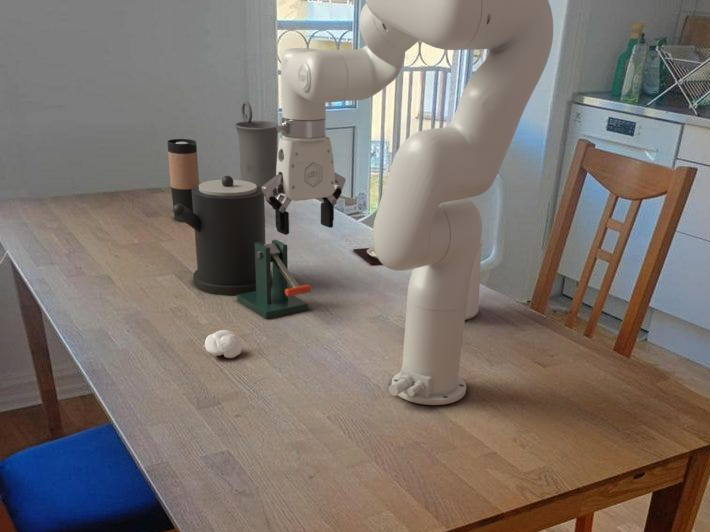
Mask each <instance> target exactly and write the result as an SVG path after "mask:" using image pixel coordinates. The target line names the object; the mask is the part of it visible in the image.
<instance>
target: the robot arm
mask: <svg viewBox="0 0 710 532" xmlns="http://www.w3.org/2000/svg"><path fill="white" fill-rule="evenodd" d="M358 21H359V22H358V25H359V32H360V34H361V37H362V40H363V41H364V44H365V45H364V46H363V47H361V48H358V49H357V48H356V49H354V48H352V49H351V48H349V49H347V48H345V49H316V48H308V47H307V48H306V47H292V48H291V47H290V48H287V49H285V50H283V52H282V53H281V56H280V79H281V80H280V87H281V122H280V123H277V131H278V133H281V136H282V137H280V138H279V142H278V145H277V166H276V176H275V177H274V178H272V179H271V180H270V181H268V182H267V183H266V184H264V185H263V186H262V188H261V189H262V192H263V194H264V198H265V200H266V202H267V203H268V205H270V206H271V207H272V209H273V210H274V211H275V213H274V215H275V228H276V231H277V232H278V233H280V234H282V235H285V236H286V235H287V236H288V235H289V234H290V213H289V212H288V211H287V209H288V207H289V205H290V204H291V202H292V201H294V202H295V201H296V202H300V201H301V202H302V201H307V200H308V201H309V200H315V199H321V200H322V201H323V202H321V203H320V225H322V226H324V227H326V228H330V229H331V228H333V227H334V220H335V206H336V205H337V203H338V199H339V198H340V197H341V195H342V193H343V189H344V186H345V184H346V178H345V177H344V176H342V175H341V174H339V173H337V172H336V171H335V162H334V161H335V160H334V154H333V153H334V152H333V147H332V141H331V138H330V137H329V136H327V135H326V134H327V127H326V126H327V120H326V119H327V118H326V117H327V114H326V111H327V109H326V107H327V105H326V104H327V103H336V102H350V101H363V100H367V99H369V98H372V97H373V96H375V95H377V94H378V93H380V92H381V91H383V89H385V88H386V87H387V86H389V85H390V84H391V83H393V82H394V81H395V80H396V79H397V78H398V76H399V75H400V73H401V71H402V68H403V65H404V62H405V58H406V52H407V51H408V50H410V49H411V48H412V47H414V45H416V44H417V43H418V42H421V43H423V44H425V45H428V46H430V47H433V48H435V49H439V50H445V51H463V50H464V51H466V50H467V51H468V50H469V51H470V50H472V51H473V50H474V51H475V50H479V51H480V50H488V54H487V56H486V57H485V59H484V61H483V62H482V63H481V64H480V65H479V67H477V69H476V70H475V71H474V73H473V74H472V75H471V77H470V78H469V80H467V83H466V85H465V87H464V88H463V91H462V93H461V97H460V99H459V102H458V105H457V108H456V110H455V112H454V115H453V117H452V118H451V120H450V122H449V123H448V124H447V125H445V126H444V127H437V128H428V129H422V130H419V131H417V132H414V133H413V134H411V135H410V136H408V137H407V138H406V139H405V140H404V141H403V142H402V143H401V145H400V146H399V147H398V149H397V151H396V153H395V155H394V157H393V160H392V163H391V165H390V168H389V171H388V175H387V178H386V182H385V185H384V188H383V191H382V194H381V197H380V201H379V204H378V207H377V210H376V214H375V217H374V222H373V226H372V246H373V247H374V250H375V253H376V256H377V257H378V259H379V261H380V262H381V263H382V264H381V265H383V266H384V267H386V268H387V269H390V270H393V271H409V270H412V272H411V274H410V277H409V281H408V285H407V294H406V306H405V307H406V308H405V322H404V323H405V324H404V335H403V347H402V349H403V350H402V362H401V363H402V364H401V369H400V371H399V372H398V373H396V374H394V376H392V378H391V384H390V385H389V386H388V393H389V394H390V396H393V397H397V396H398V397H399V398H401V399H403V400H405V401H408V402H411V403H414V404H417V405H424V406H425V405H426V406H443V405H449V404H453V403H455V402H458V401H460V400H461V399H463V398H464V396H465V395H466V392H467V384H466V381H464V379H463V378H462V377H460V375H459V374H460V373H459V372H460V365H461V364H460V363H461V356H462V355H461V354H462V348H463V338H464V330H465V322H466V320H465V314H466V305H467V298H468V290H469V283H470V277H471V272H472V267H473V264H474V260H475V257H476V254H477V251H478V247H479V244H480V240H481V239H482V234H483V220H482V215H481V213H480V210H479V209H478V207H477V206H476V204H475V203H474V202H473V201H472V200H471V199H469V198H474V197H478V196H480V195H483V194H484V193H486V192H487V191H488V190H489V189H490V188H491V187H492V185H493V184H494V182H495V180H496V179H497V176H498V174H499V172H500V169H501V167H502V164H503V162H504V160H505V158H506V155H507V153H508V150H509V148H510V145H511V143H512V141H513V139H514V137H515V134H516V131H517V129H518V126H519V124H520V121H521V118H522V117H523V114H524V111H525V109H526V107H527V105H528V103H529V101H530V99H531V97H532V95H533V93H534V91H535V89H536V87H537V85H538V84H539V81H540V80H541V77H542V75H543V73H544V71H545V69H546V67H547V63H548V61H549V58H550V55H551V51H552V46H553V39H554V17H553V11H552V8H551V5H550V0H365V4H364V5H363V6H362V7H361V10H360V14H359V20H358ZM275 189H276V193H277V196H276V197H275V195H274V190H275Z"/></svg>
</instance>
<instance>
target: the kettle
mask: <svg viewBox="0 0 710 532" xmlns="http://www.w3.org/2000/svg"><path fill="white" fill-rule="evenodd" d="M192 202H193V212H192V211H191V210H189V209H188V208H187V207H185V206H184V205H182V204H176V205H175V206H174V207H173V206H172V212H173V215H174V214H175V215H176V216H177V217H179V218H180V219H181V220H183V221H184V222H183V223H185V224H186V225H188V226H189V227H191V228H192V229H193V230H194V241H195V242H194V243H195V253H196V254H195V255H196V267H197V269H196V270H195V271H193V274H192V277H193V284H194V287H195V288H196V289H199V290H200V291H202V292H205V293H209V294H214V295H221V296H237V295H238V294H243V293H248V292H253V291H256V268H255V243H257V242H259V243H261V244H263V245H265V244H267V243H266V210H265V209H266V208H265V196H264V194H263V192H262V189H261V187H259V186H257V185H255V184H254V183H251V182H247V181H241V180H240V179H234V178H232V177H231V176H230V175H224V176H223V177H222V179H214V180H207V181H203V182H201V183H199V185H198V186H195V187H193V188H192Z"/></svg>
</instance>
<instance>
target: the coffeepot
mask: <svg viewBox="0 0 710 532" xmlns="http://www.w3.org/2000/svg"><path fill="white" fill-rule="evenodd" d="M483 245H484V240H483V238H481V240H480V244H479V247H478V251H477V254H476V257H475V260H474V264H473V267H472V272H471V277H470V283H469V290H468V298H467V305H466V314H465V321H466V320H470V319H473V318H474V317H475V316H476V315H478V313H479V308H480V287H481V286H480V285H481V267H482V265H481V264H482V247H483Z"/></svg>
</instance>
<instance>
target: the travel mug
mask: <svg viewBox="0 0 710 532" xmlns="http://www.w3.org/2000/svg"><path fill="white" fill-rule="evenodd" d="M197 148H198V147H197V141H196V140H195V139H190V138H174V139H169V140H167V154H168V168H169V169H168V170H169V180H170V181H169V182H170V190H171V198H172V199H171V200H172V208H173V207H174V206H175V205H176V204H182V205H184V206H185V207H187V208H188V209H189V210H191V211H192V212H193V202H192V188H193V187H195V186H198V185H199V184H200V173H199V162H198V149H197ZM173 216H174V220H175V221H178V222H182V223H185V222H184V221H183V220H181V219H180V218H179V217H177V216H176V215H175V214H174V213H173Z"/></svg>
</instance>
